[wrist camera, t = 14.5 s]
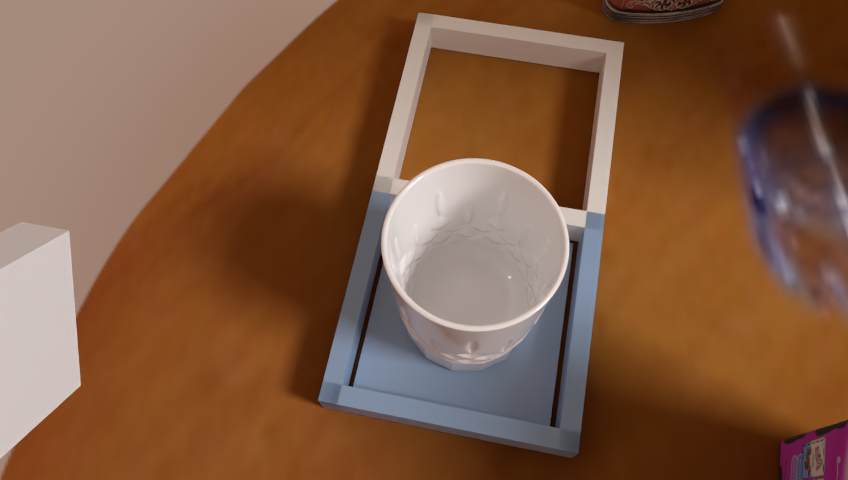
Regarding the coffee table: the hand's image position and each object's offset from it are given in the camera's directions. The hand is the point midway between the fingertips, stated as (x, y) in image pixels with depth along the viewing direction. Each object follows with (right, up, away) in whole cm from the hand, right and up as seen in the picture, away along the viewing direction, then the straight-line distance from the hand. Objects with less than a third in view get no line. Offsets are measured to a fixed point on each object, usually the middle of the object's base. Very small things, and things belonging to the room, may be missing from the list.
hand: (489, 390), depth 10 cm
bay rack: (+3, +4, +31) cm, 31 cm away
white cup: (+1, -2, +29) cm, 29 cm away
